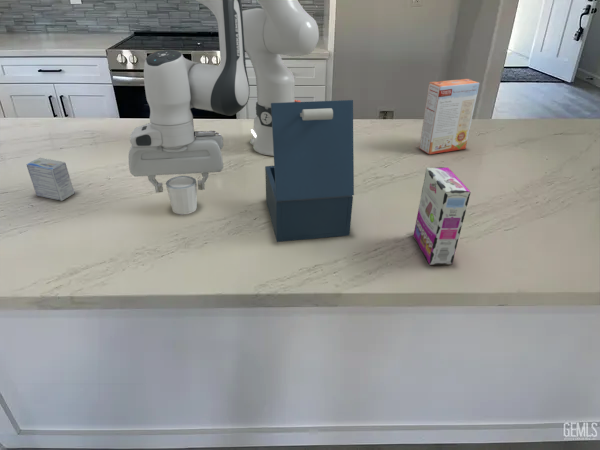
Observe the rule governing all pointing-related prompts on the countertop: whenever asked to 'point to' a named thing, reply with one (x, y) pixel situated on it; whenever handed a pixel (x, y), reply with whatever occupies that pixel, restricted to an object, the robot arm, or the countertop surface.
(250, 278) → the countertop surface
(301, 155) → the lid
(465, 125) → the cracker box
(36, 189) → the medicine box
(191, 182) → the shot glass
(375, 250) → the countertop surface
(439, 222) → the candy bar box
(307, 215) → the dark blue open box
